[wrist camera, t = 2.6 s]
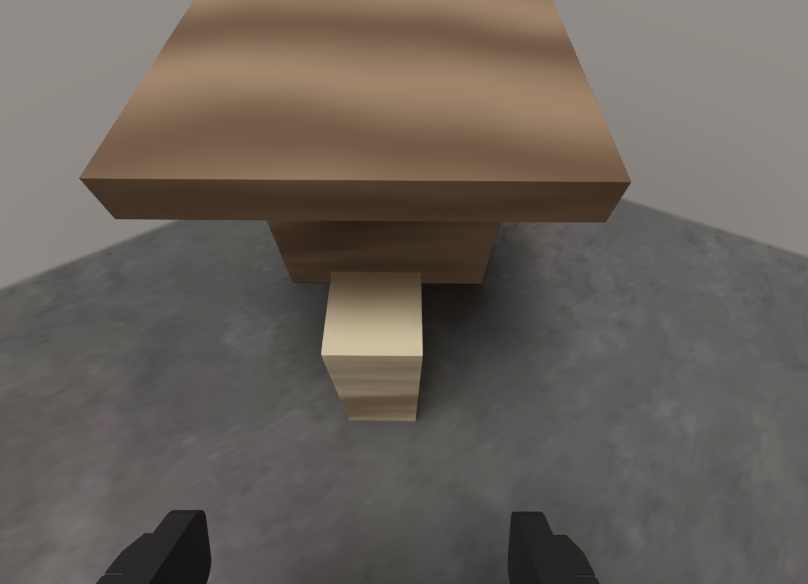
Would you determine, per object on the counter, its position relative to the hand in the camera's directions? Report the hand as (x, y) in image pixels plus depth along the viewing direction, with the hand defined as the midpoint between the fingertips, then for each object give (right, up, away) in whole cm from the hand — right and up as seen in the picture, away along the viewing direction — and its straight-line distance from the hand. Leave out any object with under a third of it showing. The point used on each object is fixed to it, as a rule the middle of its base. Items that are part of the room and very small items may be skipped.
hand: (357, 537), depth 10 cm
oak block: (0, 0, +15) cm, 15 cm away
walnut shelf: (0, +6, +18) cm, 19 cm away
